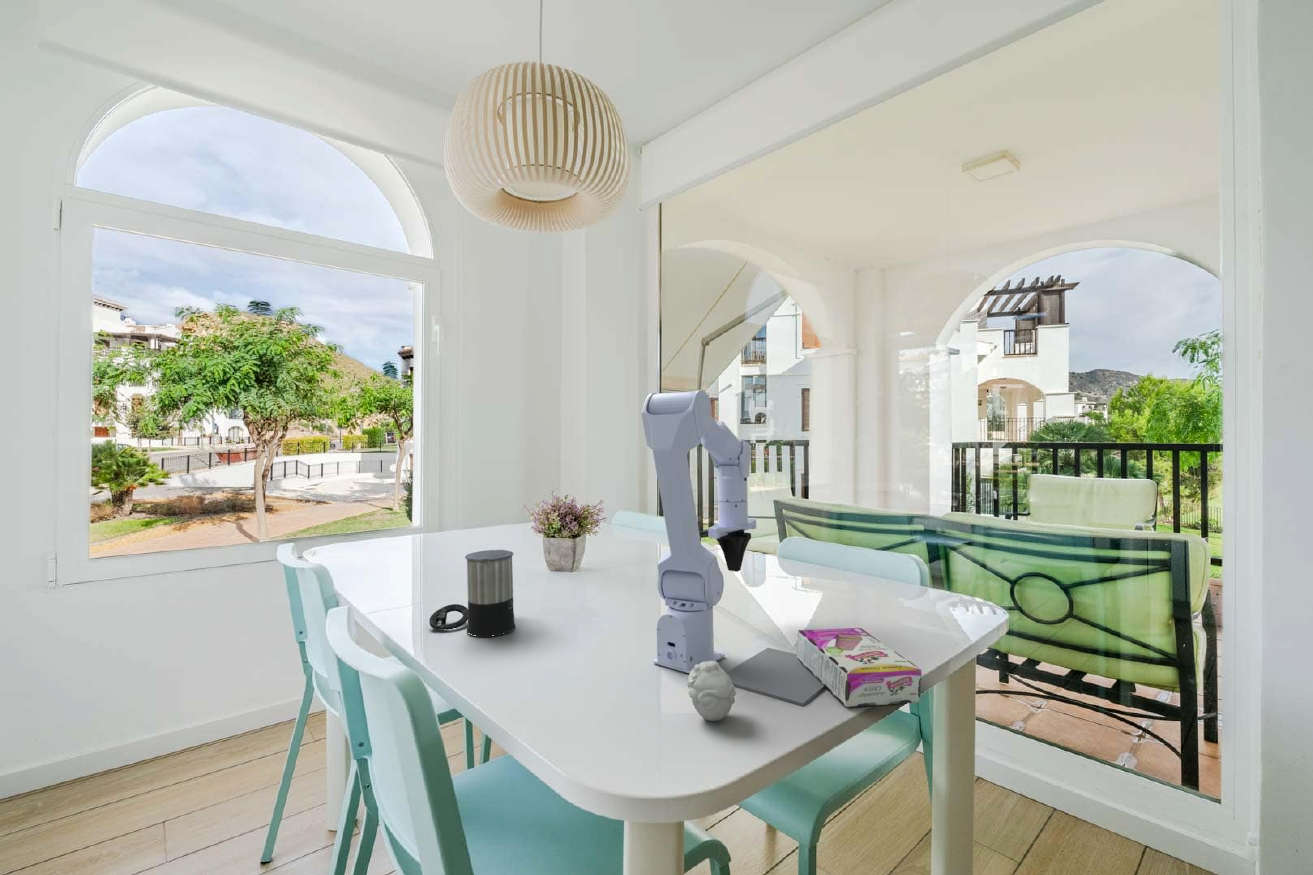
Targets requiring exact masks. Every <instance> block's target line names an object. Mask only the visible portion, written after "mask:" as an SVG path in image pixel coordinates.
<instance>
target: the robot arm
mask: <svg viewBox="0 0 1313 875" xmlns="http://www.w3.org/2000/svg"><path fill="white" fill-rule="evenodd" d="M712 414H713V409H712V402H711V398H710V396H709V395H708V393H707V392H706V391H705V390H703V389H698V390H697V389H696V390H695V391H693V390H692V391H677V392H675V391H674V392H663V393H657V392H651V393H649V394H648V395H647V396H646V398H645V400H644V403H643V407H642V410H641V420H642V425H643V426H642V427H643V430H644V437H645V440H646V446H647V447H648V448H649V449H651V450H652V454H653V459H654V460H653V461H654V465H655V466H654V467H655V472H656V477H657V483H658V488H659V494H660V498H661V500H660V501H661V506H662V511H663V516H664V523H665V527H666V533H667V539H668V540H667V541H668V545H669V550H667V551H666V552H665V553H664V554H663V555H662V556H661V557H660V559H659V561H658V563H657V580H656V581H657V590H658V594H659V596H660V597H661V599H662V600H664V602H665V603H664V606H667V607H668V609H667V611H666V612H665V613H664V614H663V615H661V617H659V619H658V621H657V624H656V655H657V656H656V657H657V658H655V659H653V662H652V663H653V664H654V665H658V666H659V665H660V666H663V667H666V668H670V669H673V670H676V671H679V672H682V673H687V674H690V672H691V671H692V669H693V668H694V665H697V664H698V665H699V664H700V663H701V662H705V661H706V662H707V661H716V662H718V661H719V660H721V659H723V658H724V657H725V653H724V652H720V651H717V650H715V641H714V638H715V637H714V636H715V635H714V607H715V606H716V605H717V604H718V603H719V602H720V601H721V599H722V596H723V593H724V589H725V588H724V586H725V585H724V584H725V581H724V576H723V575H724V574H723V573H722V571H721V568H720V566H719V563H718V562H719V561H718V557H717V556H716V555H715V554H714V553H713V552H712V551H710V550H709V549H707V548H706V547H705V546H704V545H702V542H701V541H702V540H701V534H700V529H699V523H698V516H697V510H696V505H695V498H694V492H693V485H692V480H691V478H692V477H691V474H690V473H691V472H690V468H689V466H690V465H689V461H688V460H689V458H688V454H689V451H691V450H693V449H695V448H697V447H698V446H700V444H701V445H702V447H703V448H704V449H705V450H706V451H707V452H708V453H709V456H710V458H711V461H712V465H713V466H714V468H716V469H717V470H716V471H717V505H718V506H717V508H718V510H717V512H718V522H717V523H716V524H714V525H712V526H709V527H708V528H707V530H708V531H707V532H708V537H707V538H709V539H716V541H717V543H718V544H719V547H720V548H721V551H722V554H723V557H724V560H725V564H726V567H727V571H731V572H736V573H737V572H739V571H741V570H742V565H743V560H744V555H745V553H746V549H747V547H748V544H749V542H750V541H751V538H752V533H751V532H745V531H749V530H756V529H757V519H756V518H749V511H748V509H749V508H748V507H749V505H748V502H749V501H748V477H750V466H751V462H752V451H751V445H750V443H749V442H748V441H746V440H745V439H742V438H741V439H740V438H738V437H737V436H736V435H735V434H734V432H733V431H732V430H731V429H730V428H729V427H728V426H727V425H726V423H725V422H724V421H716V419H715V418H714V417H713V415H712Z"/></svg>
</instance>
